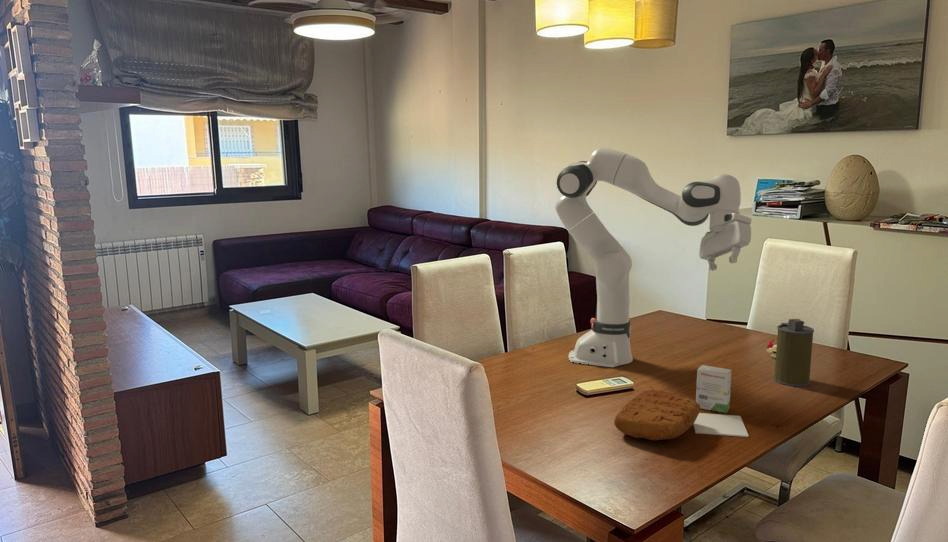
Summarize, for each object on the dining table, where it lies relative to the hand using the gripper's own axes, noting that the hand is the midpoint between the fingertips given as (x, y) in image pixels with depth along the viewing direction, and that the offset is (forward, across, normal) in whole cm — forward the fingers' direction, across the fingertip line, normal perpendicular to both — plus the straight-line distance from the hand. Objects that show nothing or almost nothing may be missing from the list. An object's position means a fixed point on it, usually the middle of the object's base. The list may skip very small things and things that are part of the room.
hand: (722, 266), depth 198 cm
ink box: (+44, 0, -2) cm, 44 cm away
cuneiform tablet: (+54, +7, -23) cm, 59 cm away
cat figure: (+14, -30, +50) cm, 60 cm away
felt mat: (+49, +10, -7) cm, 51 cm away
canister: (+29, -8, +33) cm, 45 cm away
